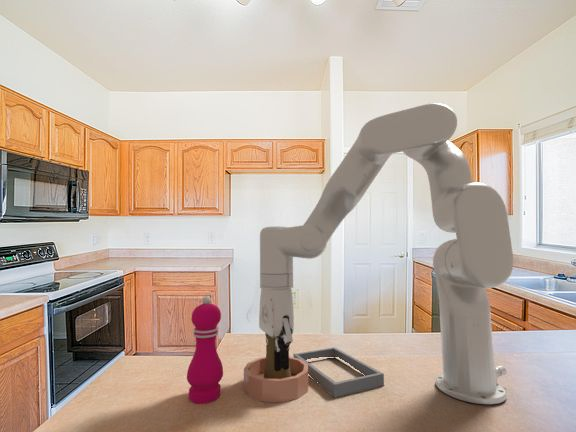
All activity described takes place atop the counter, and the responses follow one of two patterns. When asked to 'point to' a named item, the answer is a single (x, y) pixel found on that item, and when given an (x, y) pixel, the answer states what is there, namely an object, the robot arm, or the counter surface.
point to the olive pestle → (269, 362)
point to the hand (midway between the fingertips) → (277, 364)
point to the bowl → (275, 381)
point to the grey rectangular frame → (345, 387)
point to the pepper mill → (205, 355)
